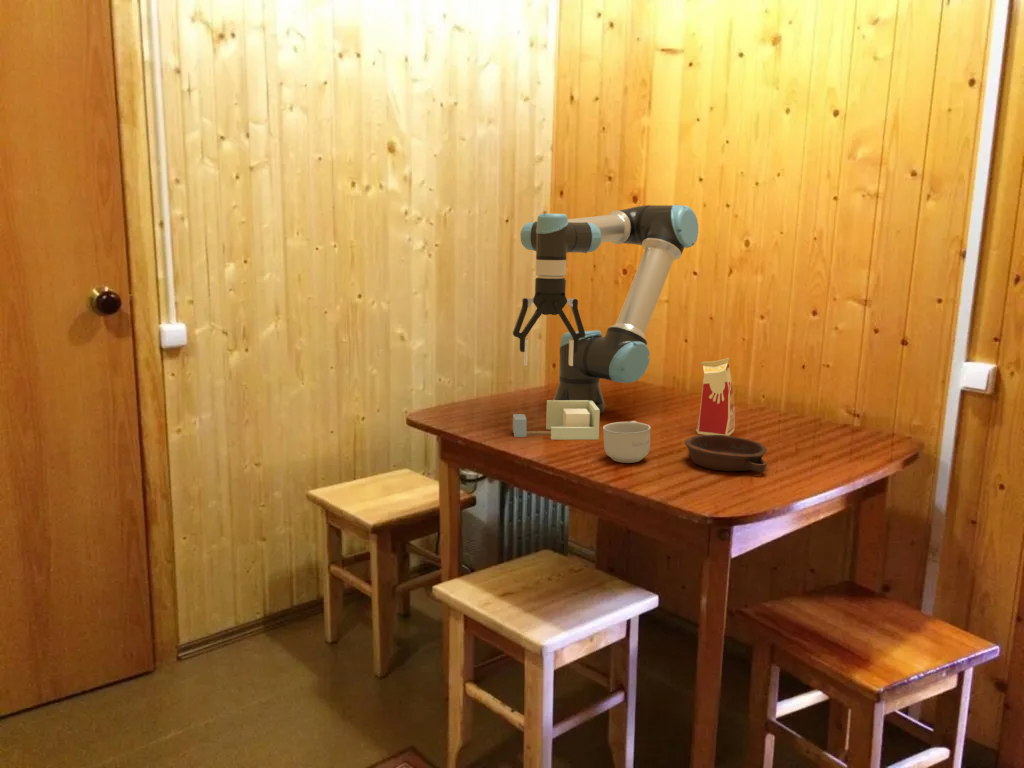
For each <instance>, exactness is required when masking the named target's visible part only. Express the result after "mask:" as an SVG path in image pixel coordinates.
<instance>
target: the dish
mask: <svg viewBox="0 0 1024 768" xmlns="http://www.w3.org/2000/svg"><path fill="white" fill-rule="evenodd" d="M684 444H685V446H686V447H687V449H688V454H689V456H690V458H691V460H692V462H693V463H695V464H696V465H698V466H700V467H702V468H706V469H709V470H714V471H722V472H745V471H753V472H758V473H762V472H765V470H766V467H767V462H766V461H764V460H763V459H762V458H763V456H764V455H765V454H766V453H767V450H768V449H767V447H766V446H765V445H764V444H762V443H761V442H758V441H756V440H754V439H749V438H744V437H739V436H733V435H729V436H727V435H703V434H698V435H694V436H691V437H689V438H687V439H686V440H685V441H684Z"/></svg>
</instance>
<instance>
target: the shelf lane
mask: <svg viewBox="0 0 1024 768" xmlns="http://www.w3.org/2000/svg"><path fill="white" fill-rule="evenodd" d="M563 409H587V411H588V412H589V413H590V424H589V427H563ZM545 413H546V414H545V416H546V419H545V429H546V430H550V431H551V435H550V440H557V441H558V440H561V441H562V440H565V441H566V440H567V441H568V440H573V441H574V440H575V441H577V440H587V441H588V440H595V441H596V440H599V438H600V414H601V413H600V410H599V408H598V407H597V406H596V405H595V403H594V402H593V401H592V400H553V399H549V400H548V399H546V412H545Z"/></svg>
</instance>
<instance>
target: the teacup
mask: <svg viewBox="0 0 1024 768" xmlns="http://www.w3.org/2000/svg"><path fill="white" fill-rule="evenodd" d="M651 428H652V427H651V425H649V424H646V423H644V422H639V421H637V420H630V421H616V422H611V423H607V424H605V425H603V427H602V430H603V448H604V452H605V454H606V455H607V457H609V458H611V460H613V461H614V462H617V463H625V464H632V463H638V462H640V461H642V460H643V459H644V458H645V457H646V456H647V455H648V454H649V453H650V448H651V430H652V429H651Z"/></svg>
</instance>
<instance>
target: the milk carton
mask: <svg viewBox="0 0 1024 768" xmlns="http://www.w3.org/2000/svg"><path fill="white" fill-rule="evenodd" d="M729 360H730V357H726V358H723V359H722V358H721V359H719V360H715V361H713V360H711V361H700V364H701V365H702V369H703V381H702V387H701V397H700V407H699V408H700V409H699V414H698V420H697V424H696V429H695V431H696V434H698V435H727V436H731V435H732V433H733V432H735V420H736V418H735V417H736V410H735V399H734V398H735V395H734V386H733V380H732V375H731V370H730V364H729Z"/></svg>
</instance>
